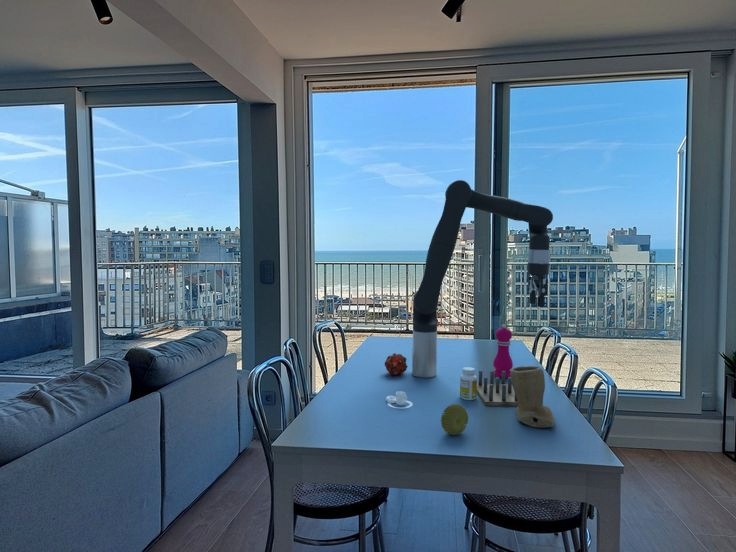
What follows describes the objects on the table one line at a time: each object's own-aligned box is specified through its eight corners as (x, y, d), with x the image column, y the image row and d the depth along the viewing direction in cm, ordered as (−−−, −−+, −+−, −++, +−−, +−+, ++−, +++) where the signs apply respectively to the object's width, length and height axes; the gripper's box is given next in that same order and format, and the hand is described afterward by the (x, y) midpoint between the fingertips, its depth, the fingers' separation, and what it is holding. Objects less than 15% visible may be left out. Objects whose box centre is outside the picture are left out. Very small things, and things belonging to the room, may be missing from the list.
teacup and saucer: (382, 402, 145) (382, 389, 145) (405, 399, 148) (405, 386, 148) (393, 411, 137) (393, 398, 137) (417, 408, 140) (417, 395, 140)
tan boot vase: (509, 407, 139) (510, 359, 138) (550, 412, 136) (552, 363, 135) (508, 426, 125) (510, 373, 124) (555, 432, 121) (556, 377, 120)
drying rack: (485, 405, 141) (485, 385, 141) (473, 387, 159) (474, 370, 159) (537, 406, 141) (537, 386, 140) (519, 387, 159) (520, 370, 158)
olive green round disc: (461, 428, 123) (461, 399, 123) (471, 433, 120) (471, 404, 119) (437, 434, 120) (438, 404, 119) (447, 440, 116) (447, 409, 115)
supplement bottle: (474, 394, 151) (474, 366, 150) (478, 400, 146) (479, 370, 145) (458, 395, 151) (458, 366, 150) (462, 400, 146) (462, 370, 145)
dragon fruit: (400, 373, 182) (395, 386, 170) (383, 360, 182) (377, 372, 171) (412, 358, 179) (408, 370, 168) (395, 345, 180) (389, 356, 168)
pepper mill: (491, 376, 172) (492, 324, 171) (495, 372, 178) (496, 321, 177) (510, 379, 169) (512, 326, 167) (514, 374, 175) (515, 323, 174)
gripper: (522, 261, 175) (520, 302, 176) (534, 262, 161) (532, 307, 162) (541, 261, 175) (539, 303, 176) (556, 263, 161) (553, 308, 162)
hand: (536, 305), depth 169 cm, fingers open, 8 cm apart
